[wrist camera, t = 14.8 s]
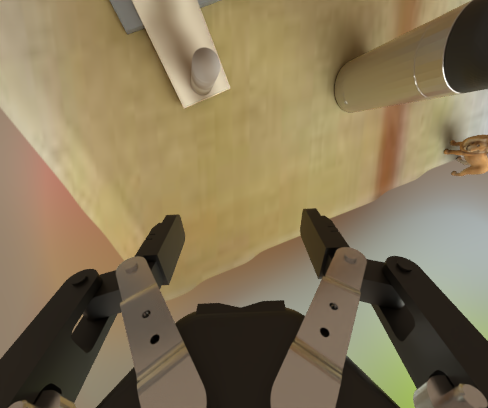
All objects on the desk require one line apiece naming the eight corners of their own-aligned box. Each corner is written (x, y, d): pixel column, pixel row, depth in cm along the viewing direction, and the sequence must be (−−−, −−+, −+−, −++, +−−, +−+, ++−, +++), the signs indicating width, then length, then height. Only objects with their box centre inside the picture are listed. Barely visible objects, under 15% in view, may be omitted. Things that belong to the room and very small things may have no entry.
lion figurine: (434, 147, 49) (484, 148, 40) (448, 129, 48) (502, 127, 40) (453, 180, 54) (501, 186, 46) (466, 164, 54) (516, 168, 46)
